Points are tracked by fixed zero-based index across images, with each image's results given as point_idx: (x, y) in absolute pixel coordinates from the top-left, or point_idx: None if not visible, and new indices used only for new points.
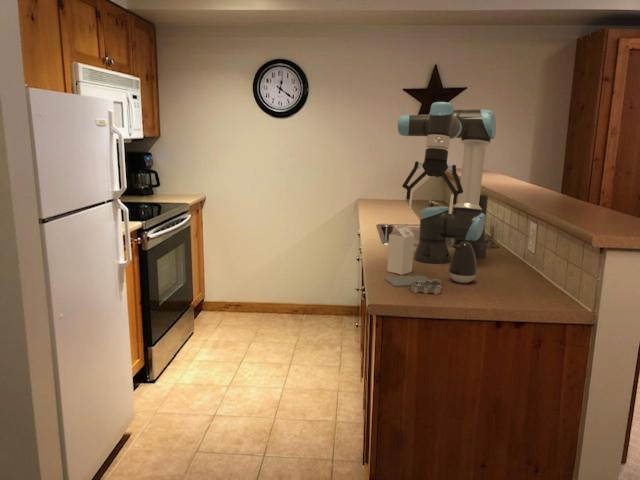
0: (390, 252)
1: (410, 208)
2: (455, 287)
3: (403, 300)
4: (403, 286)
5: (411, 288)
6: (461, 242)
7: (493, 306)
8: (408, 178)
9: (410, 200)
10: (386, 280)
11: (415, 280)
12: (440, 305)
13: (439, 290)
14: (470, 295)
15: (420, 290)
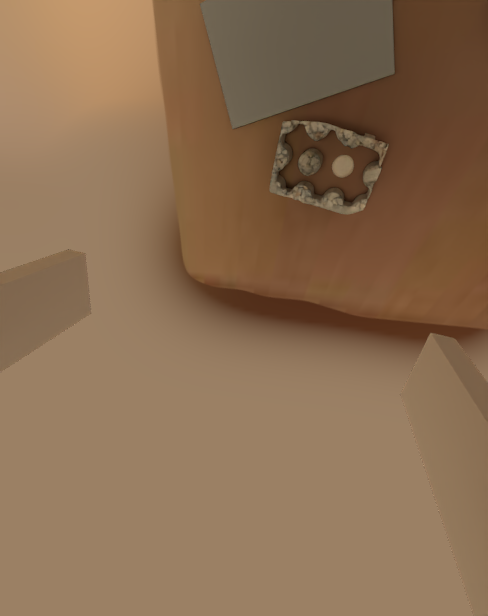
0: None
1: (82, 316)
2: (467, 109)
3: (246, 255)
4: (263, 118)
5: (277, 177)
6: None
7: (473, 311)
8: None
9: (20, 348)
10: (210, 37)
11: (319, 36)
12: (326, 293)
13: (363, 196)
14: (466, 215)
15: (305, 182)
